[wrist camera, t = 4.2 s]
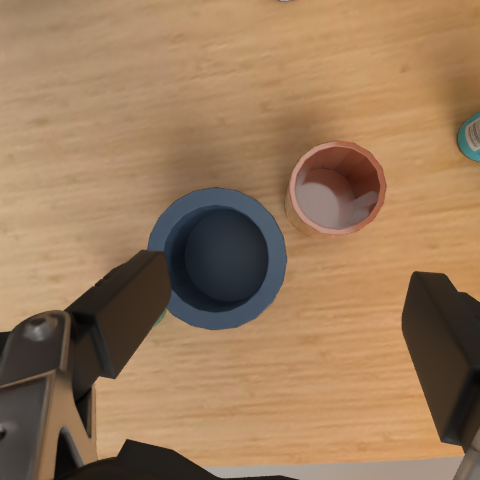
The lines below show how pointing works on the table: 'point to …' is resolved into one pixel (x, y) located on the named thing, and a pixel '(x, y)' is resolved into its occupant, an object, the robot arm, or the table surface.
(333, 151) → the crock
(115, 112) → the table surface
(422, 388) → the robot arm
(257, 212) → the jar
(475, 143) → the tube
